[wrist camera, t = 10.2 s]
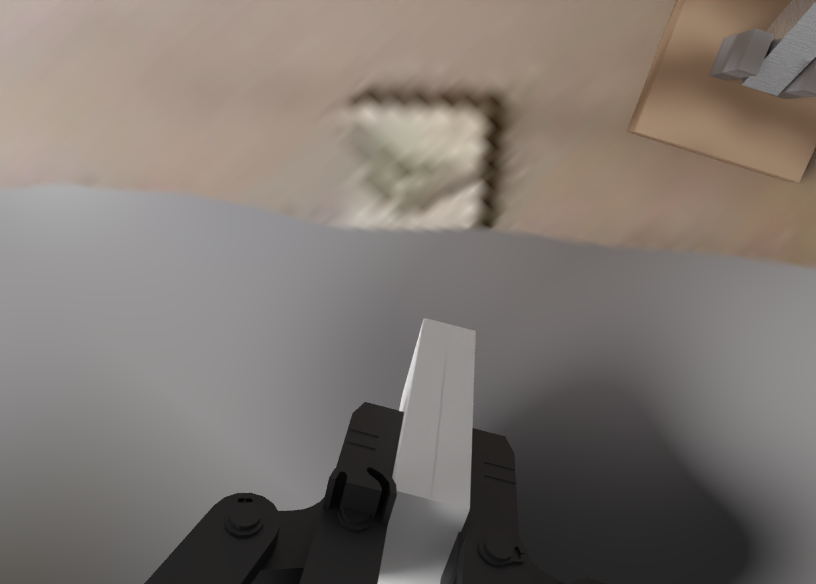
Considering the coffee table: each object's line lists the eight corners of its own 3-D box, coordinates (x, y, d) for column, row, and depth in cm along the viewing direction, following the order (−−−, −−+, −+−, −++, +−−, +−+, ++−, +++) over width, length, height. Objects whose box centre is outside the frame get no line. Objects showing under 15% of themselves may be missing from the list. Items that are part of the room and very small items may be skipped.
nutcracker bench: (784, 180, 45) (839, 188, 39) (627, 131, 45) (656, 131, 39) (921, -122, 40) (1011, -170, 34) (744, -179, 40) (801, -237, 33)
